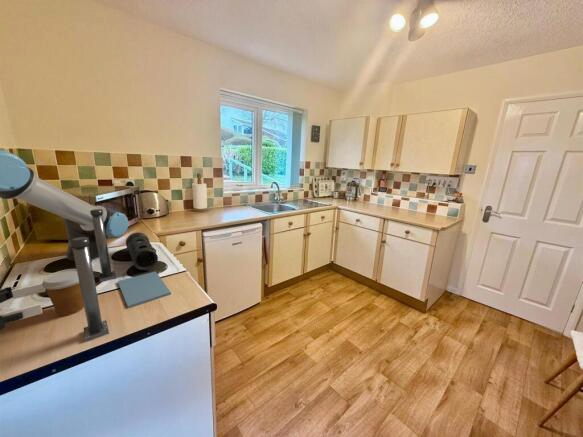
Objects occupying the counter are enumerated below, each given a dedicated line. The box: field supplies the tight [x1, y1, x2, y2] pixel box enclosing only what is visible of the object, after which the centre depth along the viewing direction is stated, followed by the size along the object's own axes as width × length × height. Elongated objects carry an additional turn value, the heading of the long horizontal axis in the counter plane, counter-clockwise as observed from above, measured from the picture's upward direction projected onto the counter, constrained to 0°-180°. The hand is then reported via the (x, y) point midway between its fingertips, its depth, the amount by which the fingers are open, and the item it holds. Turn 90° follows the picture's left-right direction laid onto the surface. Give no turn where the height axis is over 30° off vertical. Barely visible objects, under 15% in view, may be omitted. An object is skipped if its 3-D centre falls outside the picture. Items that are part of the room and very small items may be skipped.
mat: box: [117, 271, 172, 309], centre depth 88 cm, size 20×13×1 cm, turn 43°
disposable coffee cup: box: [42, 268, 84, 317], centre depth 73 cm, size 10×10×12 cm
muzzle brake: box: [125, 231, 159, 272], centre depth 109 cm, size 10×28×10 cm, turn 39°
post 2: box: [90, 209, 117, 283], centre depth 90 cm, size 5×5×28 cm
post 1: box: [68, 237, 110, 343], centre depth 62 cm, size 5×5×28 cm
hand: (43, 297), depth 69 cm, fingers open, 13 cm apart
